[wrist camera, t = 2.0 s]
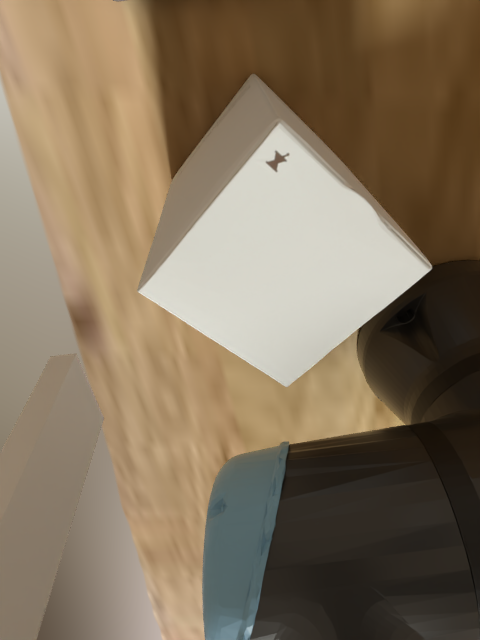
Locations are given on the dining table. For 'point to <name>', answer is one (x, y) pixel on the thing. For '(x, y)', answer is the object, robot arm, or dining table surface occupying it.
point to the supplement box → (274, 241)
